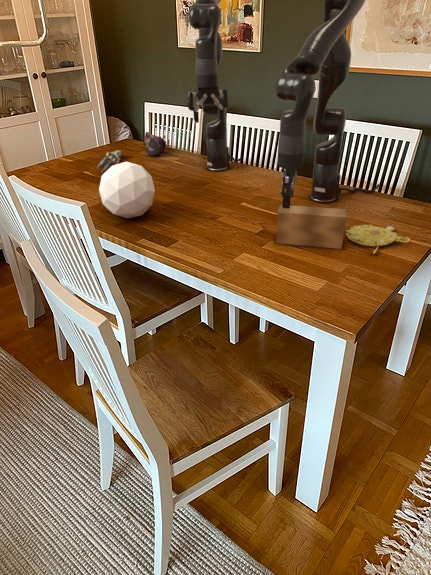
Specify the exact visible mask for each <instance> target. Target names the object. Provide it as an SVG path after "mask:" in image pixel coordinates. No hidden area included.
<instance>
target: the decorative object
mask: <svg viewBox="0 0 431 575" xmlns="http://www.w3.org/2000/svg"><path fill="white" fill-rule="evenodd" d="M395 230H396V228H395V227H394V226H390V225H389V226H386V227H381V226H377V225H374V224H371V223H370V224H362V225H360V224H358V225H353V227H350V228H349V229H345V232H346V233H345V235H346V236H347V239H348V240H349V241H350V242H353V243H355V244H357V245H361V246H366V247H376V248H375V249H374V250H373V252H372V254H373V255H375V254H376V253H377V252H378V251H377V250H378V249H379V247H383V246H387V245H389V244H392V243H393V242H397V243H404V244H407V243H410V242H411V238H409V237H408V236H401V235H400V236H399V234H398V232H396V231H395ZM403 239H406V240H403Z"/></svg>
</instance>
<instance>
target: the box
mask: <svg viewBox="0 0 431 575" xmlns="http://www.w3.org/2000/svg"><path fill="white" fill-rule="evenodd" d="M276 216H277V217H276V232H275V233H276V235H275V244H279V245H280V244H281V245H292V246H301V247H302V246H303V247H315V248H327V249H339V250H342V249H343V241H344V235H345V230H346V228H345V227H346V222H347V208H334V207H333V208H332V207H321V206H303V205H290V208H289V209H287V208H283V207H282V204H279V206H278V210H277V215H276Z"/></svg>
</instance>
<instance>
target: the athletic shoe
mask: <svg viewBox="0 0 431 575" xmlns="http://www.w3.org/2000/svg"><path fill="white" fill-rule="evenodd" d="M143 146H144V147H145V149H146V150H145V152H146V153H147V155H148V156H151V157H152V156H154V157H155V156H159V155H160V154H162V152H164V150H165V148H167V147H170V145H169V144H167V140H165V139H164V138H162V137H160V136H158V135H154V134H152V133H150V132H149V131H146V132H145V134H144V139H143Z"/></svg>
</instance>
